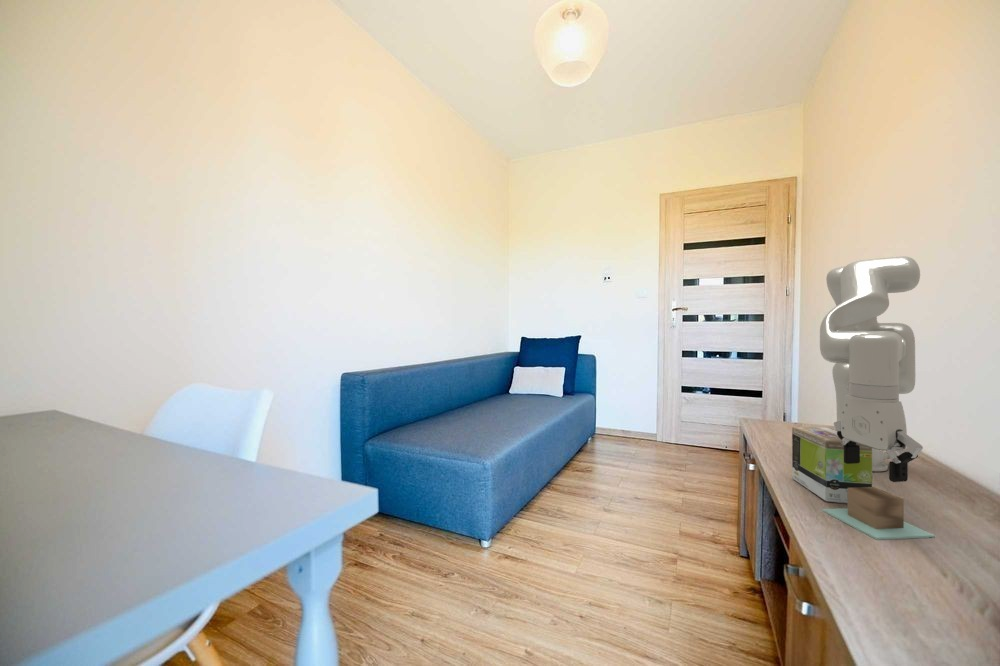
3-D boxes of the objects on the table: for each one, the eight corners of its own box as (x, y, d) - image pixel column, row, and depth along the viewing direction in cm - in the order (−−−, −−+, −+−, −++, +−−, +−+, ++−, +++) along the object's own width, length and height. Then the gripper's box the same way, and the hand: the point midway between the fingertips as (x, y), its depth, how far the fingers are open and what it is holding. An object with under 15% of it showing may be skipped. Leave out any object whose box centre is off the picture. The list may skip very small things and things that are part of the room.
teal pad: (872, 509, 87) (872, 507, 87) (934, 537, 75) (934, 535, 75) (822, 510, 87) (822, 509, 87) (876, 539, 75) (876, 537, 75)
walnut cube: (873, 514, 84) (873, 486, 84) (903, 528, 78) (903, 498, 78) (847, 514, 84) (847, 487, 84) (875, 529, 78) (875, 499, 78)
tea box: (874, 506, 89) (874, 442, 89) (825, 502, 91) (824, 440, 91) (832, 481, 104) (832, 426, 104) (790, 478, 106) (790, 425, 106)
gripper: (820, 385, 90) (821, 458, 90) (900, 401, 72) (901, 490, 73) (851, 384, 90) (851, 456, 90) (938, 399, 73) (938, 488, 73)
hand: (873, 471), depth 82 cm, fingers open, 9 cm apart
